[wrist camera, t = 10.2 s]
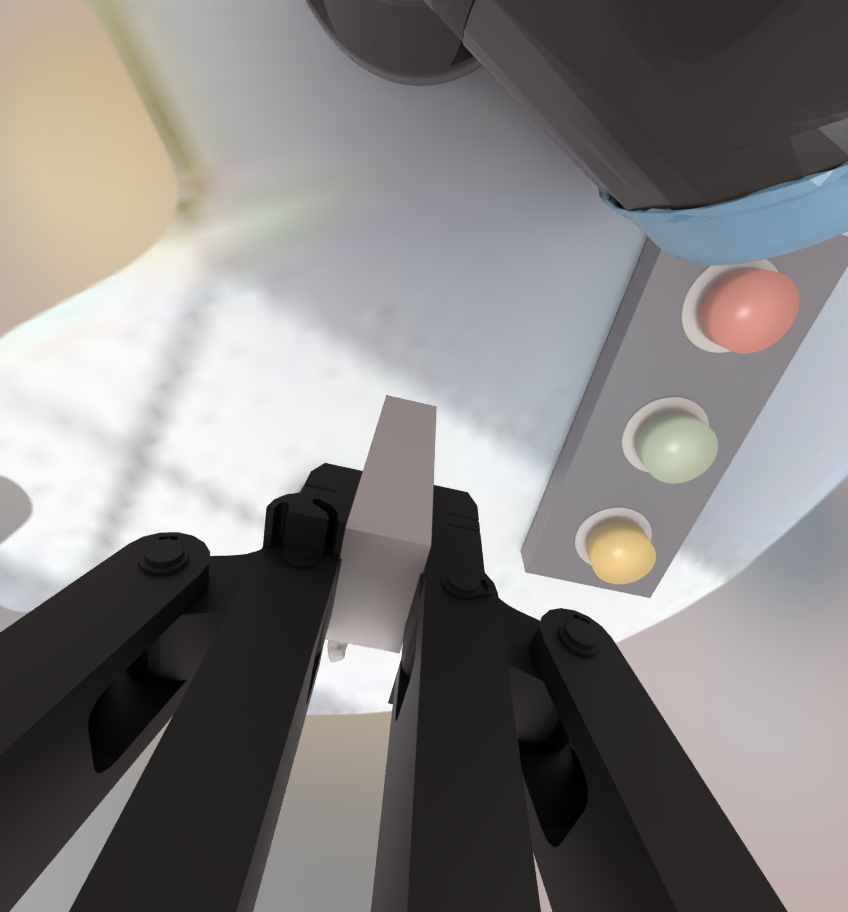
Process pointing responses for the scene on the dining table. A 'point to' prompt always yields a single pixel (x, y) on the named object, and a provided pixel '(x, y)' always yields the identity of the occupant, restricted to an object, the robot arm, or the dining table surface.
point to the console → (664, 409)
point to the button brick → (749, 309)
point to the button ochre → (620, 552)
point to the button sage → (676, 446)
